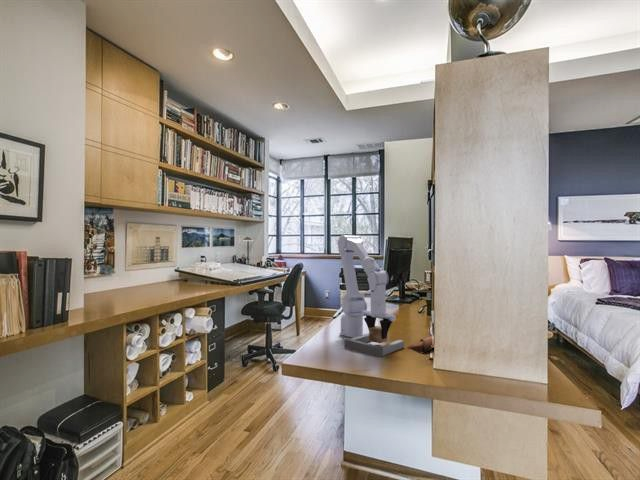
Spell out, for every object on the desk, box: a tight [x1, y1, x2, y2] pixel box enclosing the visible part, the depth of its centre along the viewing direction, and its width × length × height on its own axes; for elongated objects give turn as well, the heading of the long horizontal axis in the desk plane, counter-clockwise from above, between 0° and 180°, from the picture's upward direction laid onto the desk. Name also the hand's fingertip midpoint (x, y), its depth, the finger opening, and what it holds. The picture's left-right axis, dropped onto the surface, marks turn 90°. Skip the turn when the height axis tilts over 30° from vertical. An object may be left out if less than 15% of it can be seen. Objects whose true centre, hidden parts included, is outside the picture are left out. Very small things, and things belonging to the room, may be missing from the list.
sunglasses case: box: [406, 335, 433, 354], centre depth 122 cm, size 18×7×7 cm, turn 130°
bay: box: [343, 332, 405, 358], centre depth 121 cm, size 16×16×3 cm
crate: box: [368, 325, 388, 344], centre depth 123 cm, size 5×5×5 cm
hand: (378, 337), depth 123 cm, fingers closed on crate, 5 cm apart
